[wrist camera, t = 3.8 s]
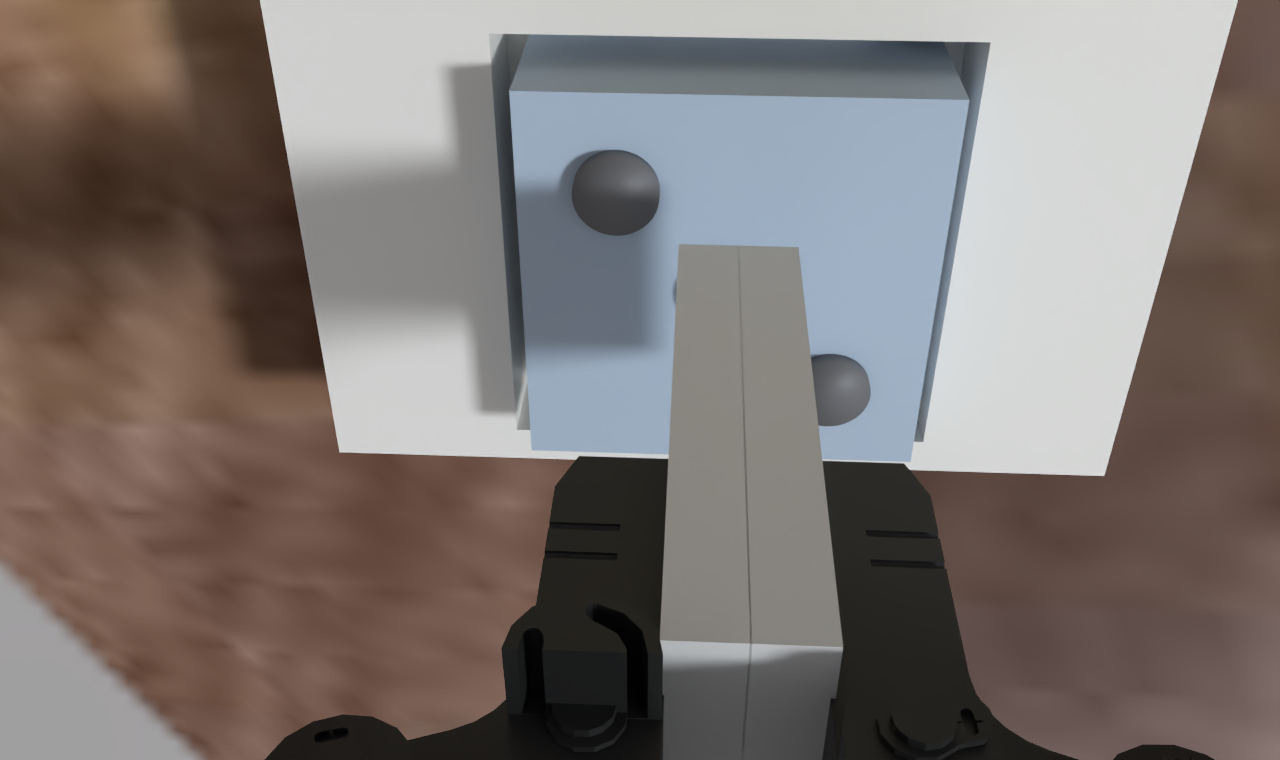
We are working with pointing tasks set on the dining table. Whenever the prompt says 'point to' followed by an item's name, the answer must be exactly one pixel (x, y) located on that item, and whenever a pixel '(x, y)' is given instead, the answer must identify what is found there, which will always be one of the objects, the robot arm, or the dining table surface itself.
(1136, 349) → the panel
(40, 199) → the dining table surface
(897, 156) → the tile three
